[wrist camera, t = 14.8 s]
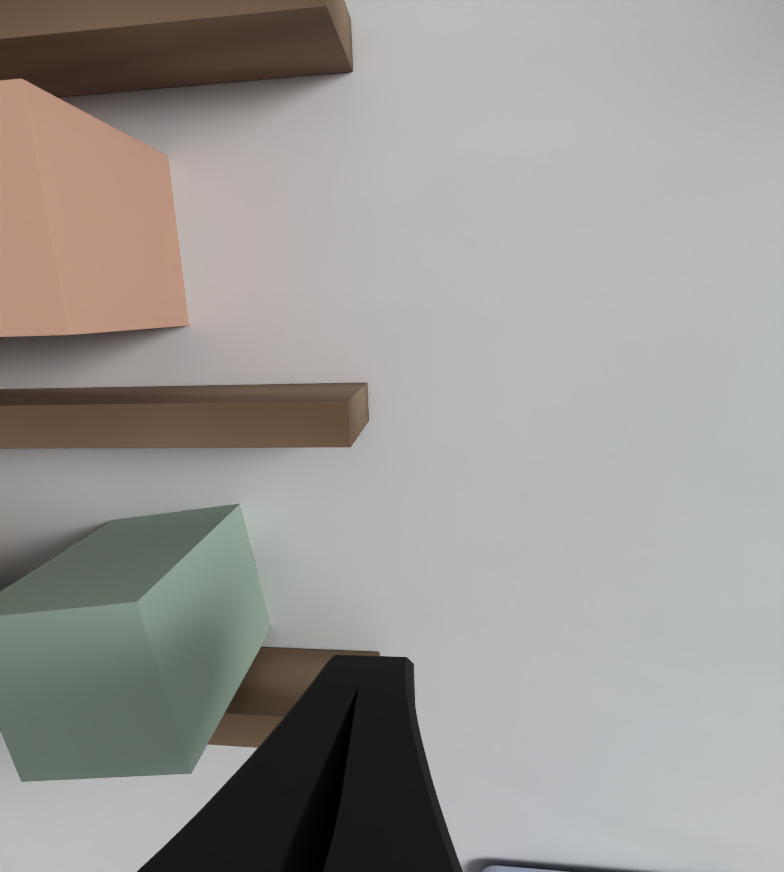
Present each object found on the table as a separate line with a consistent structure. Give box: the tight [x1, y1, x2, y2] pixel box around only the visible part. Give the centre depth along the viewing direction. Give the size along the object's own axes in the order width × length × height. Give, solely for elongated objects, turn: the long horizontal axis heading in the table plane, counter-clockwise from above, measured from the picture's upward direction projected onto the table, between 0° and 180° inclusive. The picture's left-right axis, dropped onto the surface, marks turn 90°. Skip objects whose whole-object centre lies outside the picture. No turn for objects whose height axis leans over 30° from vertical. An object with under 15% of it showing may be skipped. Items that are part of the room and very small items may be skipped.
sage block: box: [0, 504, 271, 782], centre depth 13 cm, size 4×4×5 cm
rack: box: [0, 0, 380, 747], centre depth 13 cm, size 17×13×3 cm
